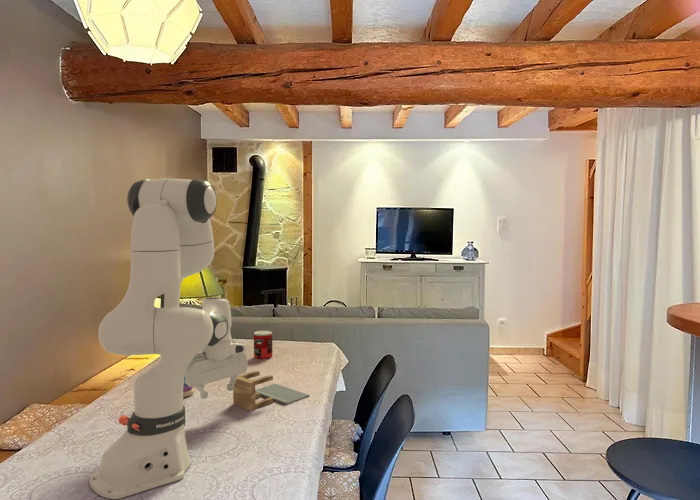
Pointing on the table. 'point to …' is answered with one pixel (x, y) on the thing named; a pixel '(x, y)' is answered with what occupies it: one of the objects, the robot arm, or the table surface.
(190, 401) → the table surface
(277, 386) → the mat
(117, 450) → the robot arm
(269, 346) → the canned food
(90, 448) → the table surface
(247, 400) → the stool
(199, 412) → the table surface
